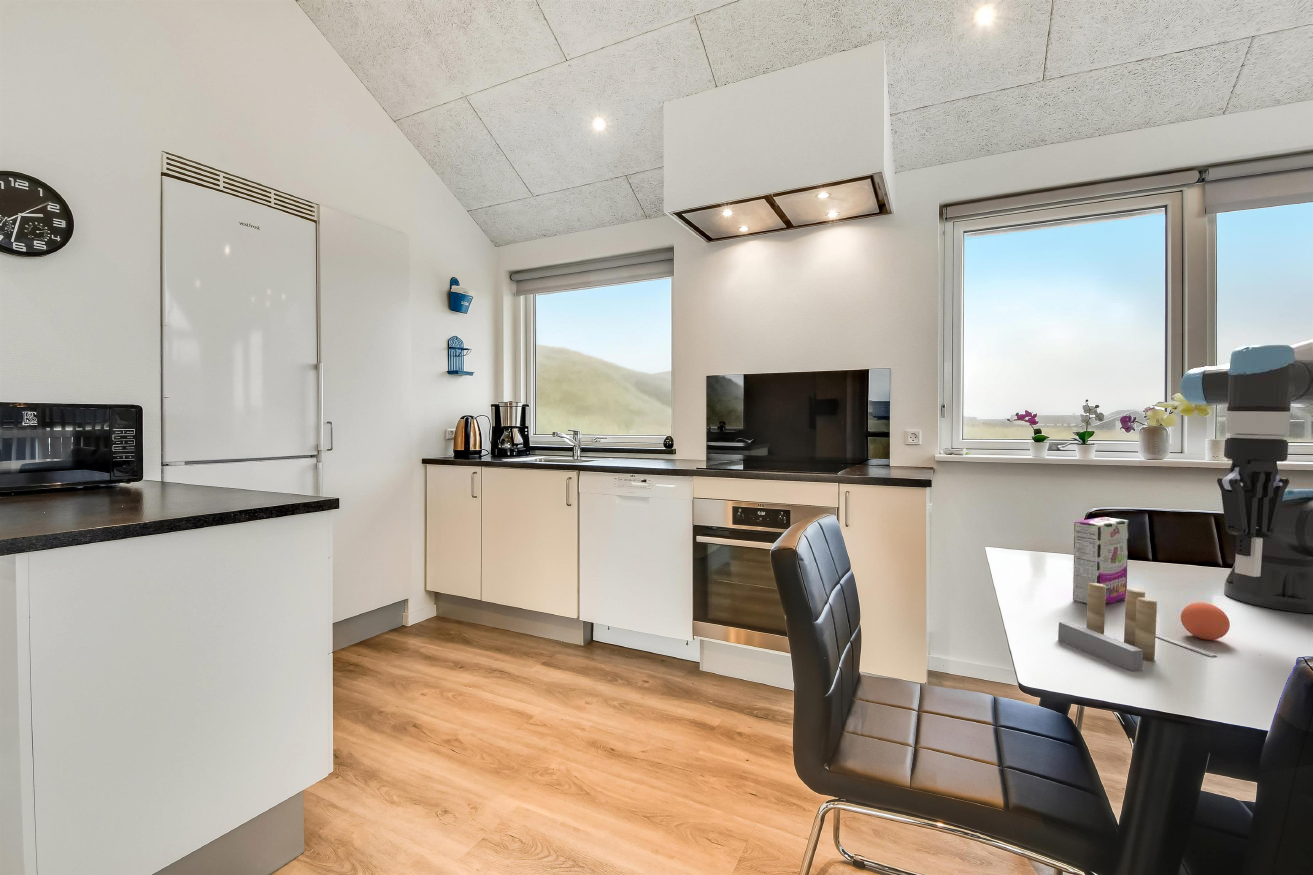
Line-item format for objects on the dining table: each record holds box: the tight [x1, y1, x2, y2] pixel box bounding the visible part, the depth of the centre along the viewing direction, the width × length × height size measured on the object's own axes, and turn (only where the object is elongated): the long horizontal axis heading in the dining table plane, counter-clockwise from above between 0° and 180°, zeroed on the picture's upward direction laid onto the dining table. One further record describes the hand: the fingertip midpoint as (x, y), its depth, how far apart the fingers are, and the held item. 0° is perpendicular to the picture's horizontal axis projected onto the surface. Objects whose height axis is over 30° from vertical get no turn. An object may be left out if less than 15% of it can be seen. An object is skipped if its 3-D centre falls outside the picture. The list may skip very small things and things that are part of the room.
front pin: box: [1123, 588, 1146, 647], centre depth 94 cm, size 2×2×9 cm
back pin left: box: [1135, 597, 1158, 662], centre depth 89 cm, size 2×2×9 cm
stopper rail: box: [1057, 620, 1144, 672], centre depth 90 cm, size 2×12×3 cm, turn 12°
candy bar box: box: [1072, 516, 1129, 606], centre depth 117 cm, size 11×5×16 cm, turn 117°
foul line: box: [1156, 633, 1217, 658], centre depth 96 cm, size 1×12×1 cm, turn 13°
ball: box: [1180, 602, 1231, 641], centre depth 97 cm, size 6×6×6 cm
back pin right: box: [1085, 583, 1106, 635], centre depth 97 cm, size 2×2×9 cm
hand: (1247, 574), depth 99 cm, fingers closed
